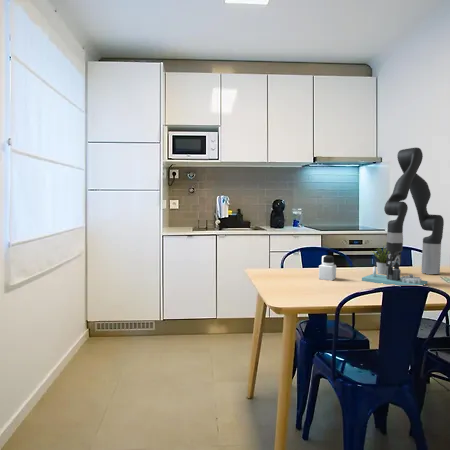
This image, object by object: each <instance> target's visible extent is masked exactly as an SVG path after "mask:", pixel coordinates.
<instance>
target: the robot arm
mask: <svg viewBox="0 0 450 450" xmlns="http://www.w3.org/2000/svg"><path fill="white" fill-rule="evenodd" d="M423 155H424V154H423V151H422V149H421V148H419V147H409V148H404V149H400V150H399V151H398V152H397V155H396V156H397V161H398V165H399V167H400V169H401V170H402V173H403V174H402V175H401V176H400V177H398V179H397V181H395V184H394V188H393V192H392V193H391V195H390V197H388V200H387V201H386V202H385V203H384V213H385V214H386V215H387V216H394V217H396V219H393V220H389V221H388V222H387V232H386V233H387V234H386V247H385V249H386V250H387V251H386V252H388V251H390V252H389V253H390V254H389V253H388V254H387V253H386V254H387V259H386V266H387V267H388V275H393V269H400V265H401V264H402V252H403V247H404V246H403V245H404V244H403V243H404V234H403V233H404V232H403V231H404V222H405V219H406V216H407V213H408V210H409V209H408V204H407V203H406V202H405V201H406V200H407V198H408V195H409V192H410V194H411V197H412V200H413V203H414V206H415V208H416V212H417V217H418V221H419V222H418V223H419V226H420V228H421V229H422V230H424V231H427V232H431V234H430V235H429V236H425V237H423V238H422V249H421V252H422V253H421V255H422V256H421V272H422V273H421V274H423V273H426V274H425V275H429V274H439V275H440V274H441V272H440V271H441V256H442V255H441V254H442V252H441V251H442V239H443V236H444V235H443V233H444V224H445V223H444V222H445V221H444V220H445V219H444V217H443V215H441V214H429V212H428V210H427V209H428V208H427V206H428V203H429V202H430V199H431V197H432V196H431V195H432V194H431V189H430V187H429V184H428V182H427V181H426V180H425V179H424V178H423V177H422V176H420V175H419V174H418V173H417V172H418V171H419V168H420V166H421V164H422V163H423V157H424V156H423Z"/></svg>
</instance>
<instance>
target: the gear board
mask: <svg viewBox="0 0 450 450" xmlns="http://www.w3.org/2000/svg"><path fill="white" fill-rule="evenodd" d="M393 270H395V269H394V268H393ZM386 277H387V274H378V273H377V266H373V267H372V274H369V275H366V276H363V277H361V281H363V282H368V283H369V282H370V283H375V284H376V283H377V284H381V283H383V284H382V285H388V284H395V285H424V284H427V285H428V284H429V283H428V280H424V279H423V280H422V278H421V277H420V276H415V275H414V274H413V273H411V274H408V275H402V276H400V280H397V281H395V280H389V279H386ZM395 285H394V286H395Z"/></svg>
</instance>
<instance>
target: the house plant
mask: <svg viewBox="0 0 450 450" xmlns="http://www.w3.org/2000/svg"><path fill="white" fill-rule="evenodd" d="M382 247H383V248H381V247H379V246H376V248H374V250H375V251H376V252H375V251H372V250H371V252H372V254H374V255H373V256H374V257H376V258H377V259H378V261H376V272H377V274H378V275H387V269H388V267H387V266H386V259H387V254H390V251H387V250H386V248H385V245H382ZM382 249H383V250H382Z"/></svg>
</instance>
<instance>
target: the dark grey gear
mask: <svg viewBox="0 0 450 450" xmlns="http://www.w3.org/2000/svg"><path fill="white" fill-rule="evenodd" d="M386 276H387V277H386V279H389V280H395V281H397V280H400V277H401V269H400V268H399V269H395V270H393V275H388V269H387V274H386Z"/></svg>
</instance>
